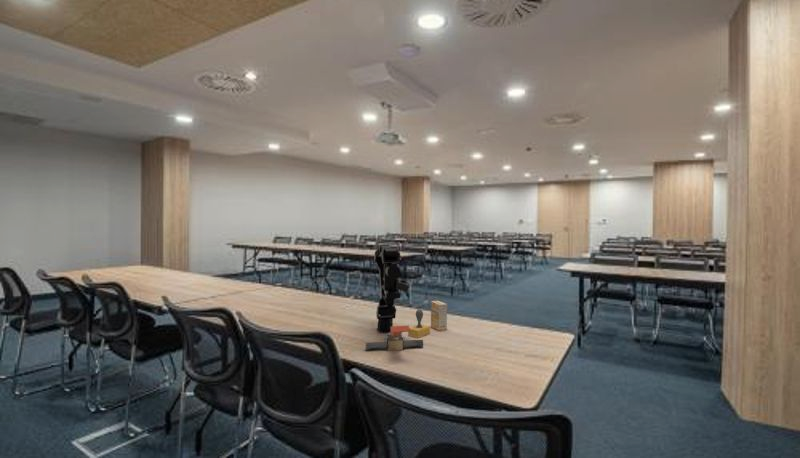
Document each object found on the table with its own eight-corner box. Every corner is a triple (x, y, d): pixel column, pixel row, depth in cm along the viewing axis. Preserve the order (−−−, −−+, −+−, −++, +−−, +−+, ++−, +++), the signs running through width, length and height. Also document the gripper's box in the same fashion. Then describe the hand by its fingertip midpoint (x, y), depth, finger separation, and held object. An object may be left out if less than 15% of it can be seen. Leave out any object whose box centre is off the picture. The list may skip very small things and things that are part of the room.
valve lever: (385, 333, 162) (391, 326, 148) (402, 332, 163) (409, 325, 150) (386, 338, 161) (391, 331, 147) (402, 337, 162) (409, 330, 149)
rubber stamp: (417, 338, 175) (417, 312, 175) (407, 336, 179) (407, 310, 179) (430, 333, 183) (430, 308, 182) (420, 331, 187) (420, 306, 186)
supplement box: (430, 326, 194) (430, 301, 193) (438, 325, 196) (438, 300, 195) (438, 331, 186) (438, 304, 186) (447, 330, 188) (447, 303, 188)
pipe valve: (365, 348, 162) (365, 334, 162) (421, 344, 166) (421, 331, 166) (366, 352, 157) (366, 338, 157) (423, 348, 161) (423, 335, 161)
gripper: (412, 278, 165) (412, 315, 165) (404, 272, 183) (403, 305, 184) (386, 279, 163) (386, 316, 163) (380, 273, 181) (380, 306, 182)
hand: (390, 310), depth 173 cm, fingers closed
